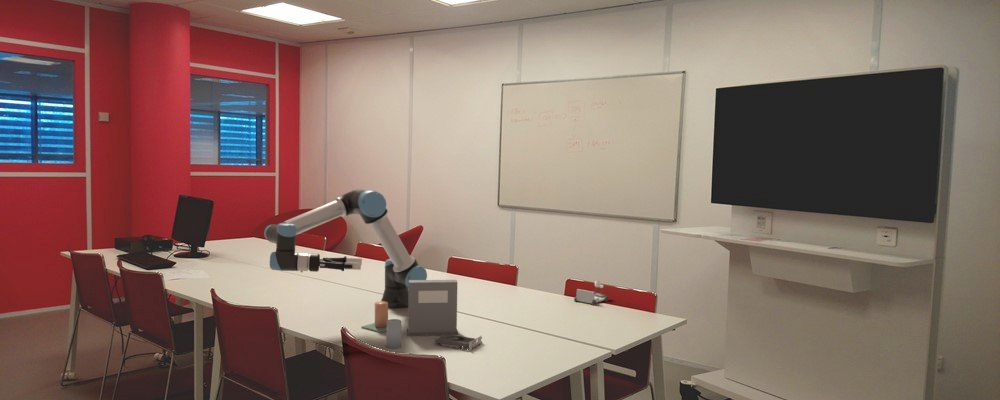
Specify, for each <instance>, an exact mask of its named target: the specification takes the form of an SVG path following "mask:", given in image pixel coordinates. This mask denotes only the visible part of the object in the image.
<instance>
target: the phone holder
mask: <svg viewBox="0 0 1000 400" xmlns="http://www.w3.org/2000/svg"><path fill="white" fill-rule="evenodd" d="M594 287H595V289H597V288H600V292H599V293H598V292H596V291H590V290H585V289H580V288H577V289H576V296H574V299H573V301H574V302H575V303H577V302H582V303H587V304H591V305H592V306H596V304H597V303H599V302H609V296H608V295H606V294H604V293H603V288H604V287H605V286H604V285H603V284H602V283H601V282H600V281H598V280H595V281H594Z"/></svg>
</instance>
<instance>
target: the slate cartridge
mask: <svg viewBox="0 0 1000 400" xmlns="http://www.w3.org/2000/svg"><path fill="white" fill-rule="evenodd" d="M401 326H402V320H401V319H398V318H396V319H395V318H392V319H391V318H390V319H388V320H387V331H386V343H385V344H386V345H385V346H386V348H387V349H390V348H392V349H393V348H394V349H395V348H396V349H400V348H402V327H401ZM399 347H400V348H399ZM392 349H391V350H392ZM394 349H393V350H394Z"/></svg>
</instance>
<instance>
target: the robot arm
mask: <svg viewBox="0 0 1000 400" xmlns="http://www.w3.org/2000/svg"><path fill="white" fill-rule="evenodd" d="M388 213H389V211H388V208H387V200H386V198H385V196H384V195H383V194H382V193H380V192H379V191H377V190H373V189H363V188H359V189H358V188H357V189H353V190H351V191H349V192H346V193H344V194H342V195H339V196H337V197H335V198H334V200H333V201H331V202H328V203H325V204H324V205H321V206H319V207H316V208H314V209H312V210H309V211H307V212H304V213H302V214H301V213H300V214H298V215H297V216H294V217H292V218H289V219H287V220H285V221H283V222H279V223H278V224H277V223H276V224H275V223H274V224H270V225H267V226H266V227H265V229H264V231H263V235H264V238H265V239H266V240H267V241H268V242H269V243H272V244H276V246H275V247H276V250H275V251H272V252H271V253H270V256H269V268H270V269H271V270H273V271H281V272H282V271H284V272H285V271H287V272H300V273H303V272H309V271H310V272H313V273H315V272H319V270H320V269H330V270H340V271H341V272H344V271H345V270H353V271H354V270H356V271H359V270H361V269H362V261H363V258H354V257H353V258H352V257H351V258H349V257H347V256H344V257H343V256H342V257H323V258H321V256H320V254H319V253H312V252H311V253H308V252H296V245H297V244H296V242H297V240H296V239H297V235H299V234H302V233H305V232H307V231H309V230H311V229H314V228H316V227H318V226H321V225H323V224H325V223H328V222H330V221H333V220H335V219H337V218H340V217H344V218H345V217H348V216H350V215H359V216H360V217H361V218H362V221H363V222H364V224H365V225H369V226H370V228H371V229H372V231H373V232H374V234H375V236H376V238H377V239H378V241H379V242H380V244H381V246H382V247H383V249H384V251H385V253H386V254H387V256H388V257H389V258H388V259H386V260H385V262H384V291H383V295H382V297H381V300H380V302H381V301H384V302H388V308H391V309H392V308H394V309H397V308H399V309H400V308H406V307H408V301H409V280H428V279H427V278H428V272H427V270H426V269H425V268H424V266H423V265H420V264H419V263H418V261H417V259H416V257H414V256H412V255H410V254H409V252H408V250H407V249H406V247H405V245H404V243H403V242H402V239H401V238H400V236H399V234H398V233H397V231H396V230H395V228H394V226H393V225H392V223H391V221H390V219H389V216H388Z"/></svg>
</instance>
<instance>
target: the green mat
mask: <svg viewBox="0 0 1000 400" xmlns="http://www.w3.org/2000/svg"><path fill="white" fill-rule="evenodd" d="M402 327H403V326H402V325H401V328H402ZM361 329H364V330H368V331H371V332H375V333H379V334H383V333H385V332H386V333H387V327H384V328H377V327H375V322H373V323H369V324H366V325H362V326H361Z"/></svg>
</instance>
